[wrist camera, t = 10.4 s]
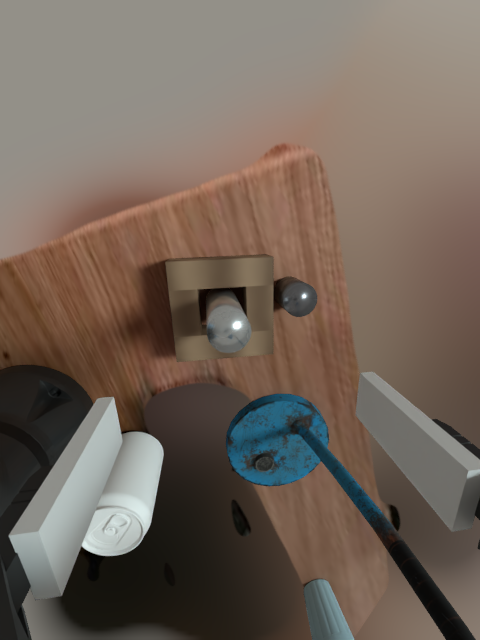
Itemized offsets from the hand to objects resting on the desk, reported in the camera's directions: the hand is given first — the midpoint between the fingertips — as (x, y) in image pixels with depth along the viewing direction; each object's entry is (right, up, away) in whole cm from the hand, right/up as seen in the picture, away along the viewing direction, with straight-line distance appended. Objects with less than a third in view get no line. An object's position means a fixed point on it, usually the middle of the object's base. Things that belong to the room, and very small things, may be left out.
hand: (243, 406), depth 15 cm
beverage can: (-16, -15, +27) cm, 35 cm away
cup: (+15, -50, +42) cm, 67 cm away
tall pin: (-3, +7, +21) cm, 23 cm away
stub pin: (+6, +8, +22) cm, 24 cm away
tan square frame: (-3, +7, +21) cm, 23 cm away
